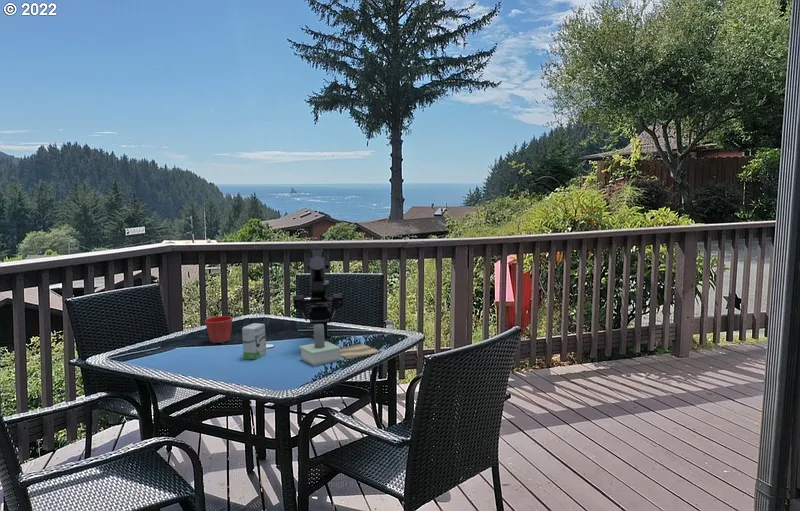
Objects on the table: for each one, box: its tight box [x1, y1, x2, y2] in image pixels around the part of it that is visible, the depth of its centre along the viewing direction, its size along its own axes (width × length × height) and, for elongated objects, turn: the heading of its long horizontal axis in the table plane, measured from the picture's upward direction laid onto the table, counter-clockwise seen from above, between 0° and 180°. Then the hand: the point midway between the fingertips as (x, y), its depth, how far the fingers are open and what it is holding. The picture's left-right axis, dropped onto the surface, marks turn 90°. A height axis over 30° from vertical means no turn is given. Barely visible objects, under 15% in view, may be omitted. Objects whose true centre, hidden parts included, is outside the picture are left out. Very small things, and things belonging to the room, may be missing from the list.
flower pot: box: [204, 315, 233, 342], centre depth 241 cm, size 11×11×10 cm
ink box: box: [241, 322, 267, 361], centre depth 219 cm, size 9×5×12 cm, turn 162°
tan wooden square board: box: [339, 343, 382, 360], centre depth 221 cm, size 14×14×1 cm
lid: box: [298, 324, 342, 356], centre depth 211 cm, size 11×11×9 cm
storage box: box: [300, 350, 340, 367], centre depth 212 cm, size 10×10×4 cm
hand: (318, 319), depth 218 cm, fingers open, 9 cm apart
